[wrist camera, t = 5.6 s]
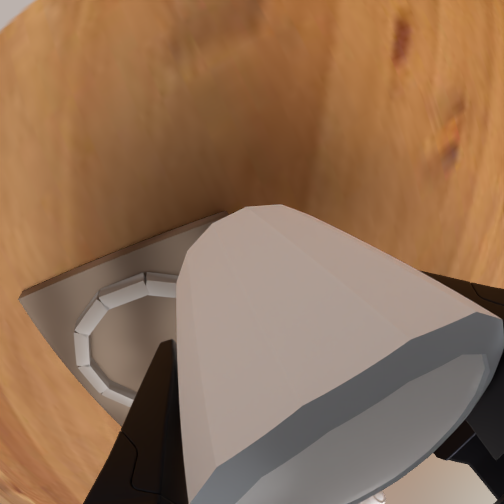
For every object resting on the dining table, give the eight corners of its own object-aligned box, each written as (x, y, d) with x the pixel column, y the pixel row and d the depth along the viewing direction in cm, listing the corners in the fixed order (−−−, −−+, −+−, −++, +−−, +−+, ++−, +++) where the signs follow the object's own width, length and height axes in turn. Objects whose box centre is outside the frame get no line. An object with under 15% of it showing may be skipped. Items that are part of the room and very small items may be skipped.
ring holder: (225, 210, 19) (233, 221, 18) (274, 367, 27) (282, 383, 25) (22, 291, 17) (13, 307, 15) (121, 418, 24) (122, 435, 23)
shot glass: (372, 288, 12) (493, 403, 6) (236, 386, 12) (298, 537, 6) (296, 138, 9) (522, 215, 3) (111, 278, 9) (94, 511, 3)
